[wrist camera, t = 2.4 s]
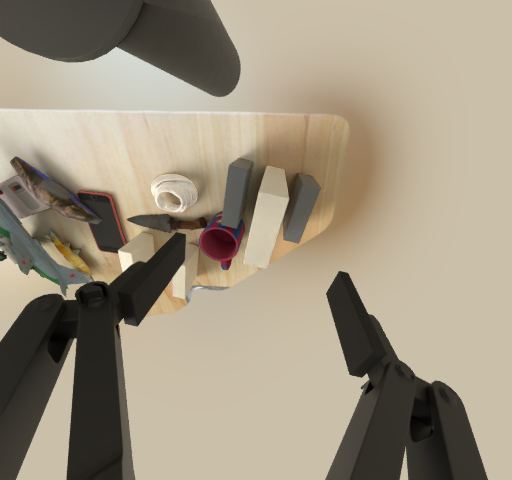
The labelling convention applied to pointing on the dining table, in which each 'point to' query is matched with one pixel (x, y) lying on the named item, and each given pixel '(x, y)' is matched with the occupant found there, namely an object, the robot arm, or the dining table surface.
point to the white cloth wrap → (174, 192)
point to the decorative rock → (52, 193)
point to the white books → (144, 250)
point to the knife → (167, 223)
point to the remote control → (20, 198)
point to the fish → (69, 252)
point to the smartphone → (104, 221)
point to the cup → (221, 240)
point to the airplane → (32, 252)
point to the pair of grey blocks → (296, 209)
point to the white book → (267, 217)
